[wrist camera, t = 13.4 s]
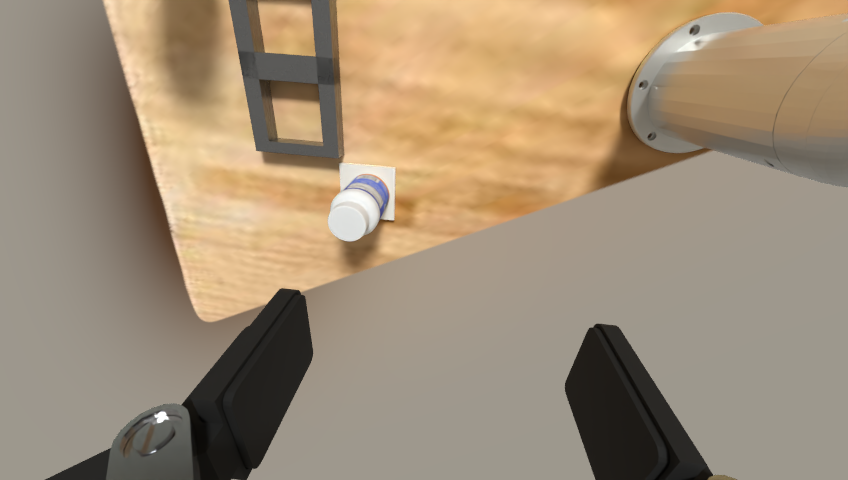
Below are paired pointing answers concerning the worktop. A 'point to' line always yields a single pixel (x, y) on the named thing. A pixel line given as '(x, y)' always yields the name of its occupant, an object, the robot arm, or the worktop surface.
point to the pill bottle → (358, 207)
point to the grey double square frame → (291, 78)
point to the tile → (384, 172)
